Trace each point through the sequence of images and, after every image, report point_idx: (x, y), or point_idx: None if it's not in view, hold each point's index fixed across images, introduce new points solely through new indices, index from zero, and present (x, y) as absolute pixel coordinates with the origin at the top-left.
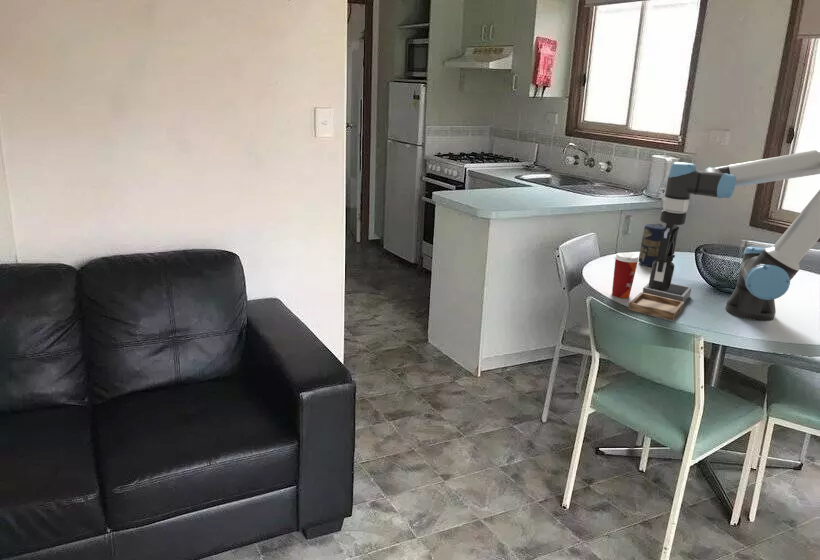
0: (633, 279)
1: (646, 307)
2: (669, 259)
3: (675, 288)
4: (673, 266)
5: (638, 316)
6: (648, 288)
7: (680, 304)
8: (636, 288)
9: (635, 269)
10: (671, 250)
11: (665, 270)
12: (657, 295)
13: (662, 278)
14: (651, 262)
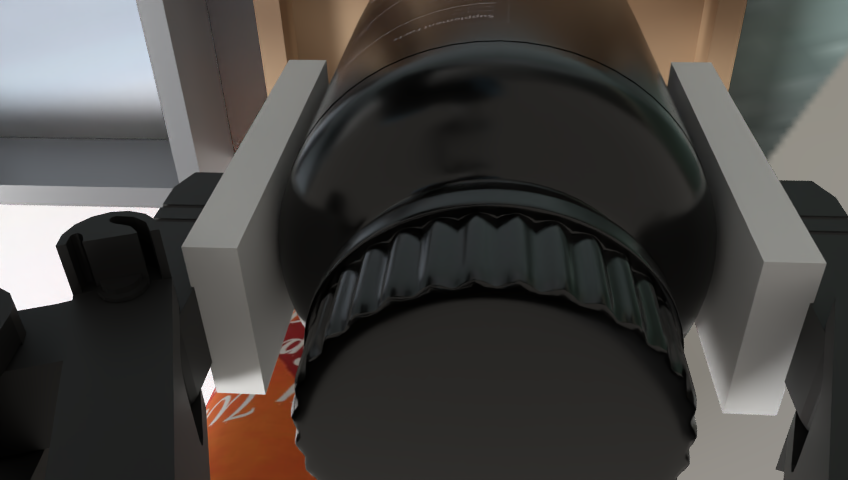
0: (285, 341)
1: (738, 37)
2: (633, 271)
3: None
4: (549, 73)
5: (840, 45)
6: (178, 167)
7: None
8: (42, 245)
9: (278, 428)
10: (182, 430)
11: (695, 150)
12: (192, 48)
13: (723, 95)
14: None
